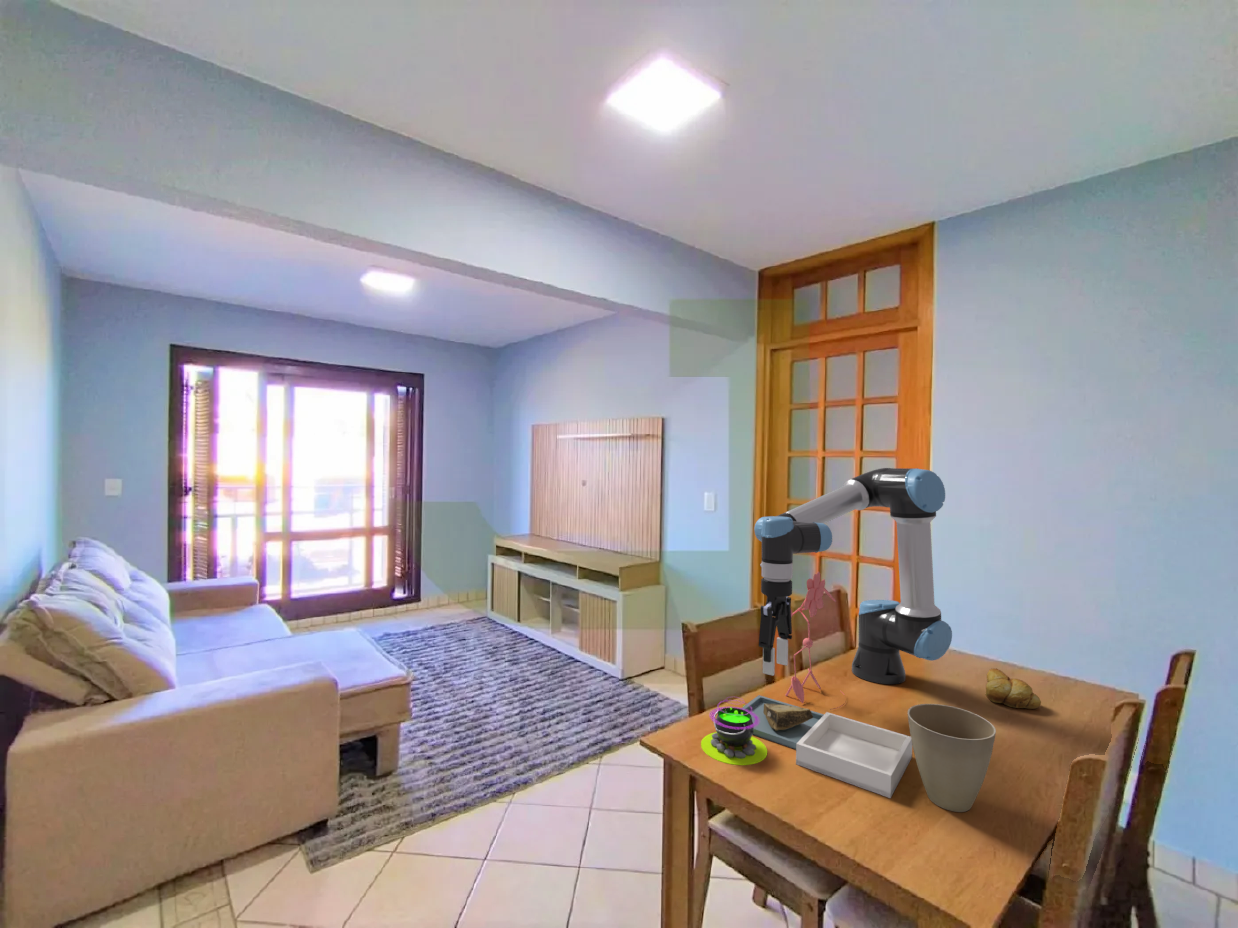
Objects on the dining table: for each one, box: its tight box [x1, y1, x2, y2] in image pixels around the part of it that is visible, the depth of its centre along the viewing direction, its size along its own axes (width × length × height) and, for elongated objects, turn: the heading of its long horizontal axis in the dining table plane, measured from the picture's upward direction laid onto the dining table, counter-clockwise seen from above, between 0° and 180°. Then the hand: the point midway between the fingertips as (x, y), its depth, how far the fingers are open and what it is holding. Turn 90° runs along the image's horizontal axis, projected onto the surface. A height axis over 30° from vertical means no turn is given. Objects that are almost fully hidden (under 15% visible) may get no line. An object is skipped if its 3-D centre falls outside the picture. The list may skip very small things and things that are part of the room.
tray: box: [740, 694, 825, 751], centre depth 141 cm, size 19×19×2 cm
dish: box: [795, 711, 913, 799], centre depth 124 cm, size 20×19×4 cm
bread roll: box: [985, 668, 1042, 710], centre depth 155 cm, size 13×10×8 cm
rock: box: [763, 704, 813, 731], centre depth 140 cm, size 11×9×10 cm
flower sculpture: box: [785, 571, 846, 711], centre depth 156 cm, size 15×26×35 cm, turn 135°
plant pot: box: [907, 703, 997, 813], centre depth 110 cm, size 15×15×16 cm
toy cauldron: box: [700, 695, 768, 766], centre depth 129 cm, size 15×15×11 cm
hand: (775, 668), depth 141 cm, fingers open, 8 cm apart
